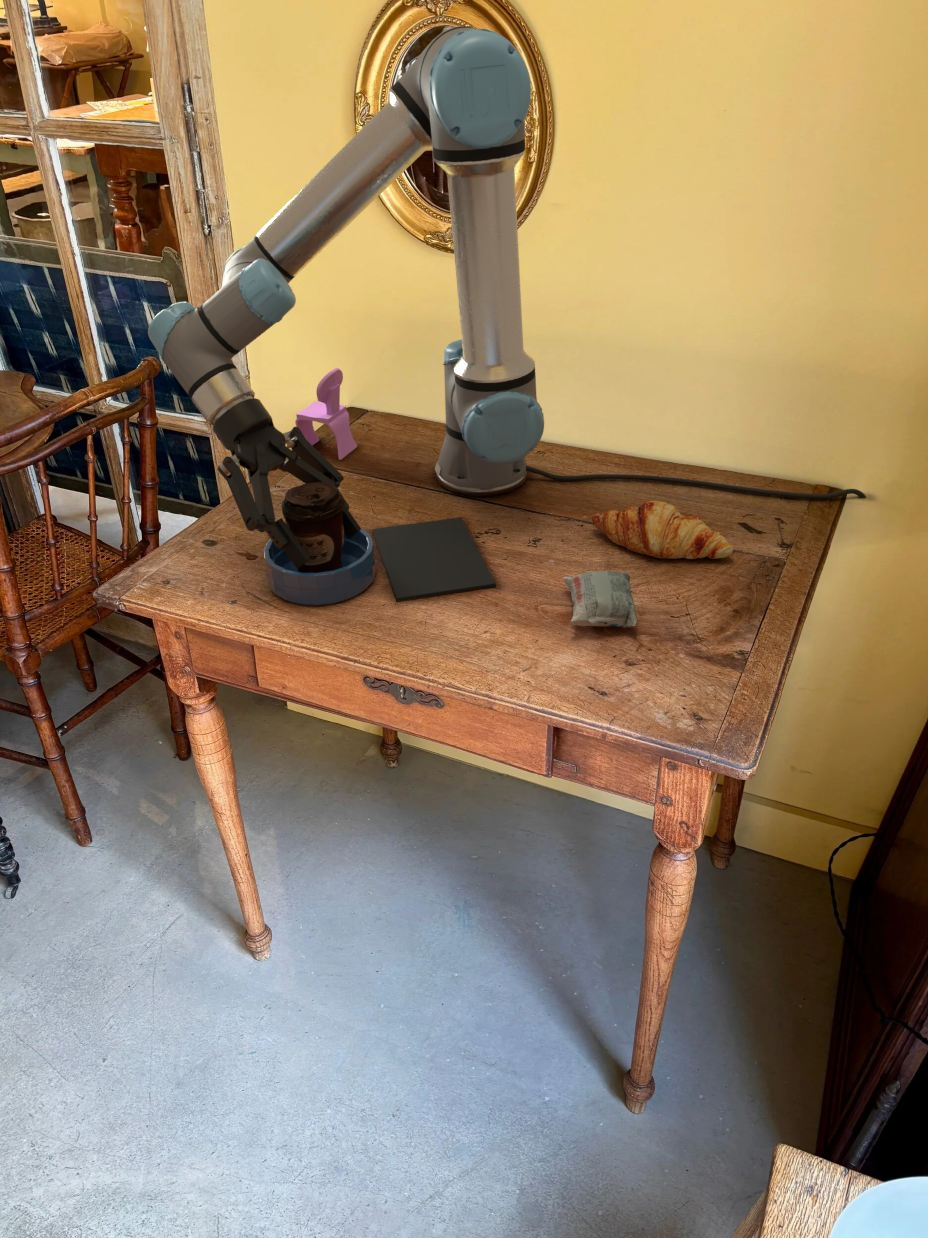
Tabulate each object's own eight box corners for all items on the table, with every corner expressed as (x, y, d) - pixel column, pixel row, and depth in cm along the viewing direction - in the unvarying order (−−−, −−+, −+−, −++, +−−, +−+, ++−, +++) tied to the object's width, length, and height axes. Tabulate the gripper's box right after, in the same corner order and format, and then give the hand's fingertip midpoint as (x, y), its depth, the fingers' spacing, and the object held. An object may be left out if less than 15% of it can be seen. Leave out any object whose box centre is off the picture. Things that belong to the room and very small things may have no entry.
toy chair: (318, 437, 173) (309, 357, 165) (360, 444, 170) (353, 363, 162) (294, 454, 167) (283, 372, 158) (337, 462, 164) (329, 379, 155)
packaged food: (568, 639, 119) (570, 607, 116) (562, 589, 129) (564, 558, 126) (637, 640, 119) (641, 608, 116) (626, 590, 128) (629, 559, 126)
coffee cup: (340, 594, 128) (329, 510, 120) (283, 588, 129) (269, 506, 122) (359, 560, 135) (350, 479, 127) (304, 555, 136) (292, 475, 129)
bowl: (366, 544, 140) (363, 515, 137) (383, 597, 128) (381, 566, 125) (265, 558, 137) (260, 528, 134) (273, 614, 125) (268, 582, 122)
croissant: (731, 571, 138) (744, 518, 137) (723, 573, 129) (738, 516, 127) (594, 541, 145) (605, 490, 144) (577, 541, 136) (589, 486, 135)
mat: (461, 520, 146) (461, 516, 145) (496, 586, 130) (496, 583, 129) (372, 532, 143) (372, 528, 143) (396, 601, 127) (396, 598, 127)
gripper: (281, 402, 136) (370, 528, 137) (158, 452, 122) (259, 594, 123) (304, 374, 131) (396, 506, 132) (178, 423, 116) (283, 571, 117)
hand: (330, 548), depth 127 cm, fingers open, 9 cm apart
